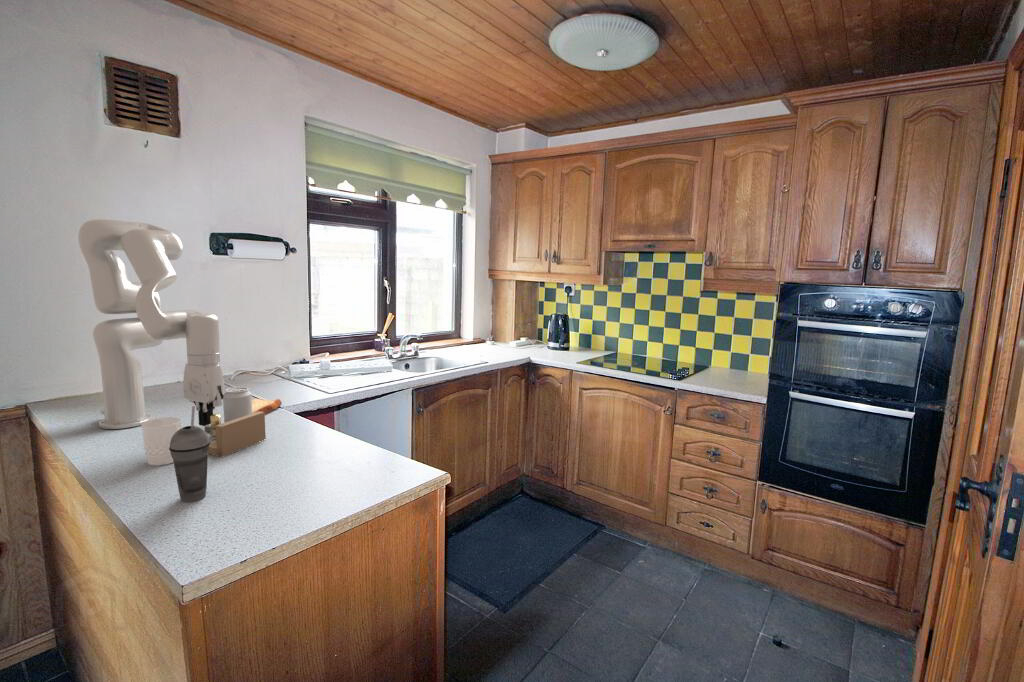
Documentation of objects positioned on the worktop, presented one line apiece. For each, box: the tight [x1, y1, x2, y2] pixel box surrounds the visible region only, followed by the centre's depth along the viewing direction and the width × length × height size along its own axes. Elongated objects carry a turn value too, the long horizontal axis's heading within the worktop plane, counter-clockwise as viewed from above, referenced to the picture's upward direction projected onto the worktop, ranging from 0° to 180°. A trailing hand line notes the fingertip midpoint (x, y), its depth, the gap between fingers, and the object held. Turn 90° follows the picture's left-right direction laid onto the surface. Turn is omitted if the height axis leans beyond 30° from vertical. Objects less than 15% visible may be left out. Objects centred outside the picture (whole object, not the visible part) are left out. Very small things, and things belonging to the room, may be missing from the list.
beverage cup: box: [169, 405, 210, 503], centre depth 104 cm, size 7×7×20 cm
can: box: [222, 386, 253, 423], centre depth 148 cm, size 8×8×12 cm
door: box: [181, 411, 267, 457], centre depth 137 cm, size 26×14×8 cm, turn 72°
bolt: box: [210, 413, 222, 436], centre depth 135 cm, size 9×2×6 cm, turn 72°
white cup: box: [140, 416, 182, 466], centre depth 123 cm, size 8×8×10 cm
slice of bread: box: [252, 397, 282, 416], centre depth 165 cm, size 18×18×4 cm
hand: (206, 424), depth 137 cm, fingers closed
